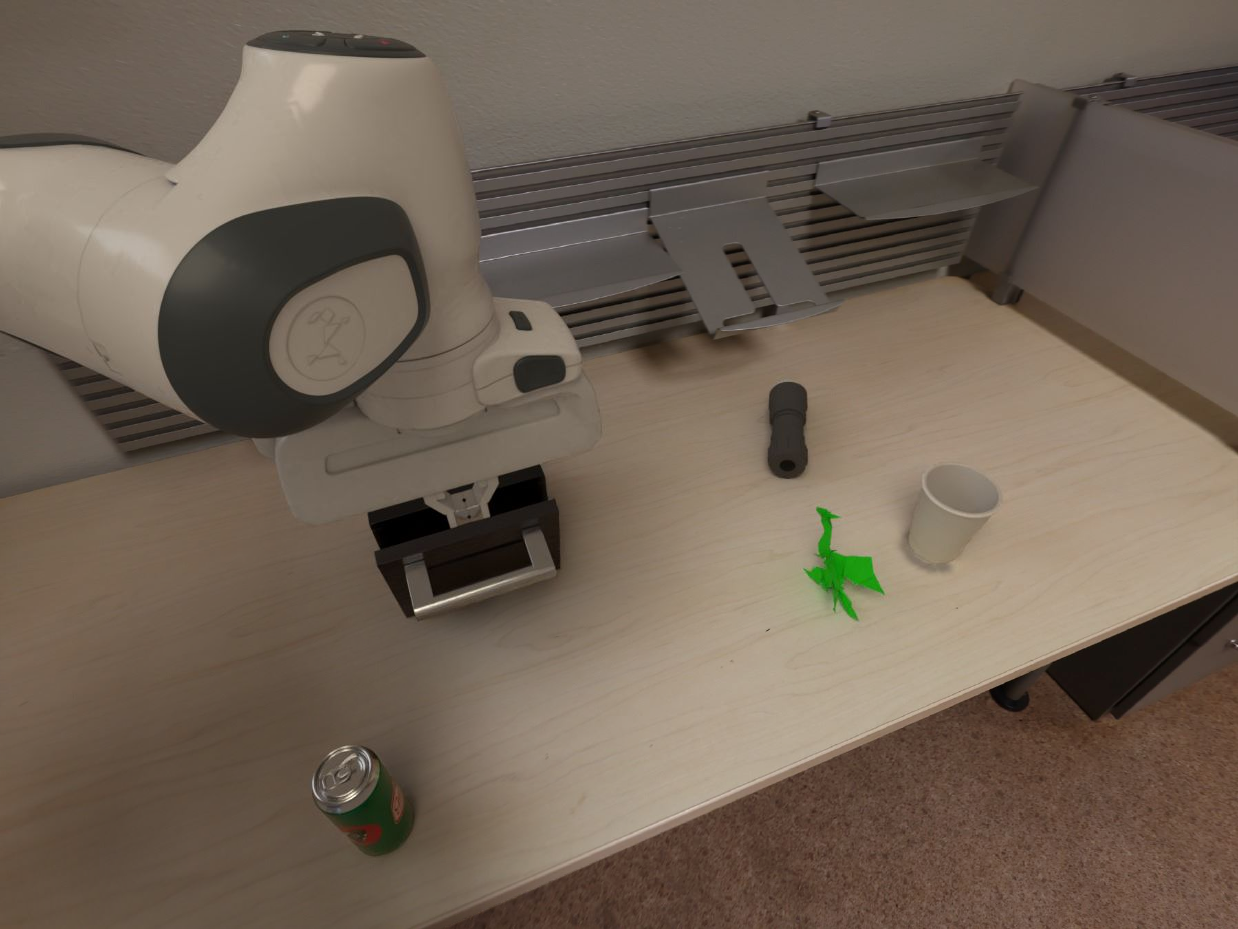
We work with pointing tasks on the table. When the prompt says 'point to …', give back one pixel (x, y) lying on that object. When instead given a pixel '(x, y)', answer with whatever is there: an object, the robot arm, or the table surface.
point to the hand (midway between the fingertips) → (468, 516)
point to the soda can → (362, 799)
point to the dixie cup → (951, 510)
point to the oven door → (473, 560)
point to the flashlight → (787, 429)
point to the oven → (424, 520)
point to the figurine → (841, 567)
